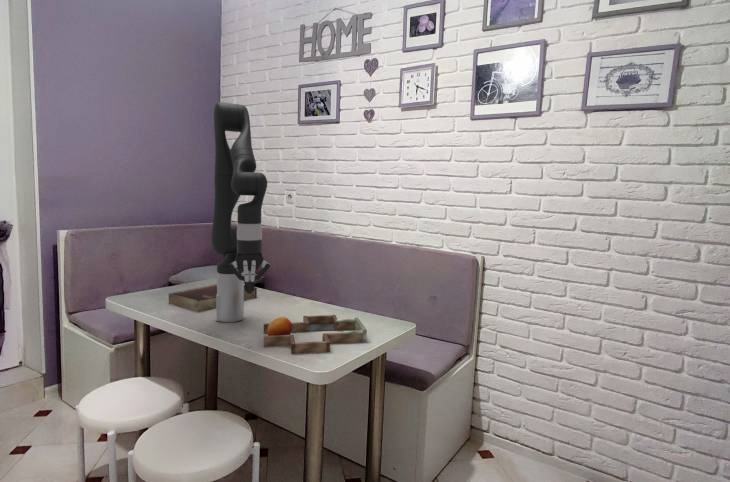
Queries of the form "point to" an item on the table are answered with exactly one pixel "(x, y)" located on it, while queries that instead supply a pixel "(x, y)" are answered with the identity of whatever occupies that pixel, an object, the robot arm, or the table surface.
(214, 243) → the robot arm
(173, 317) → the table surface
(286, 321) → the fruit
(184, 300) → the latched wooden chest
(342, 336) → the trap box
